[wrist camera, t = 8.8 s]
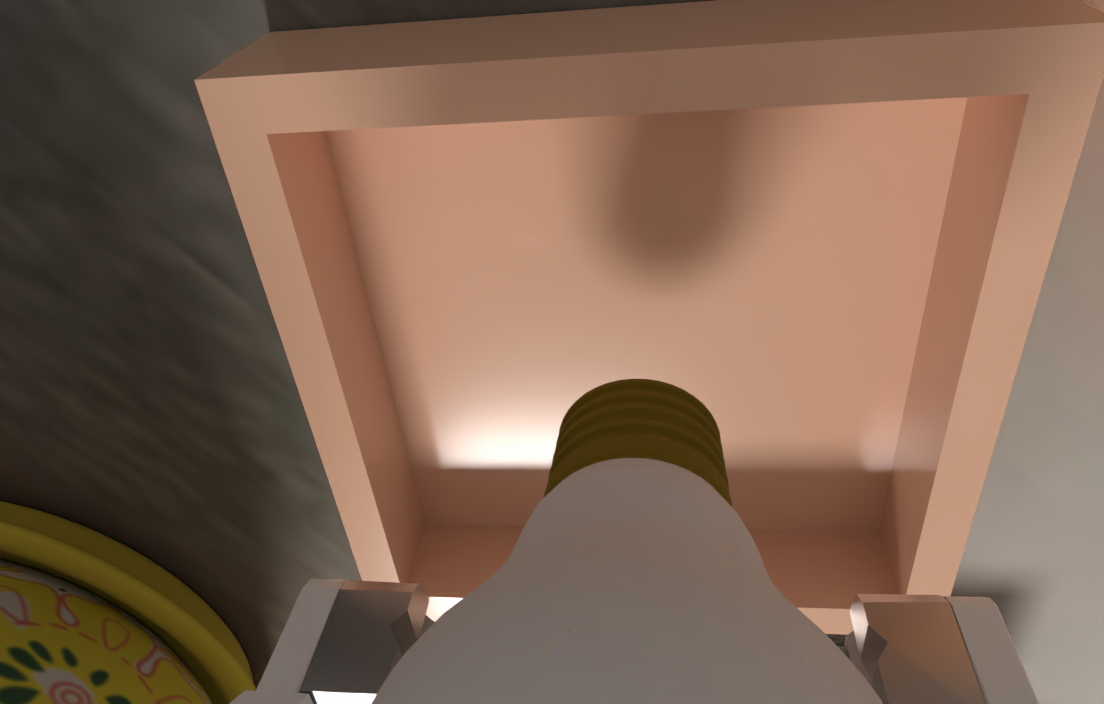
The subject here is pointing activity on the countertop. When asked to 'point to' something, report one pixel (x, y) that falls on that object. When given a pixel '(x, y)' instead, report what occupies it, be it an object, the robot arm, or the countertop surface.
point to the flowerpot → (103, 623)
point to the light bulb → (629, 583)
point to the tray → (663, 259)
